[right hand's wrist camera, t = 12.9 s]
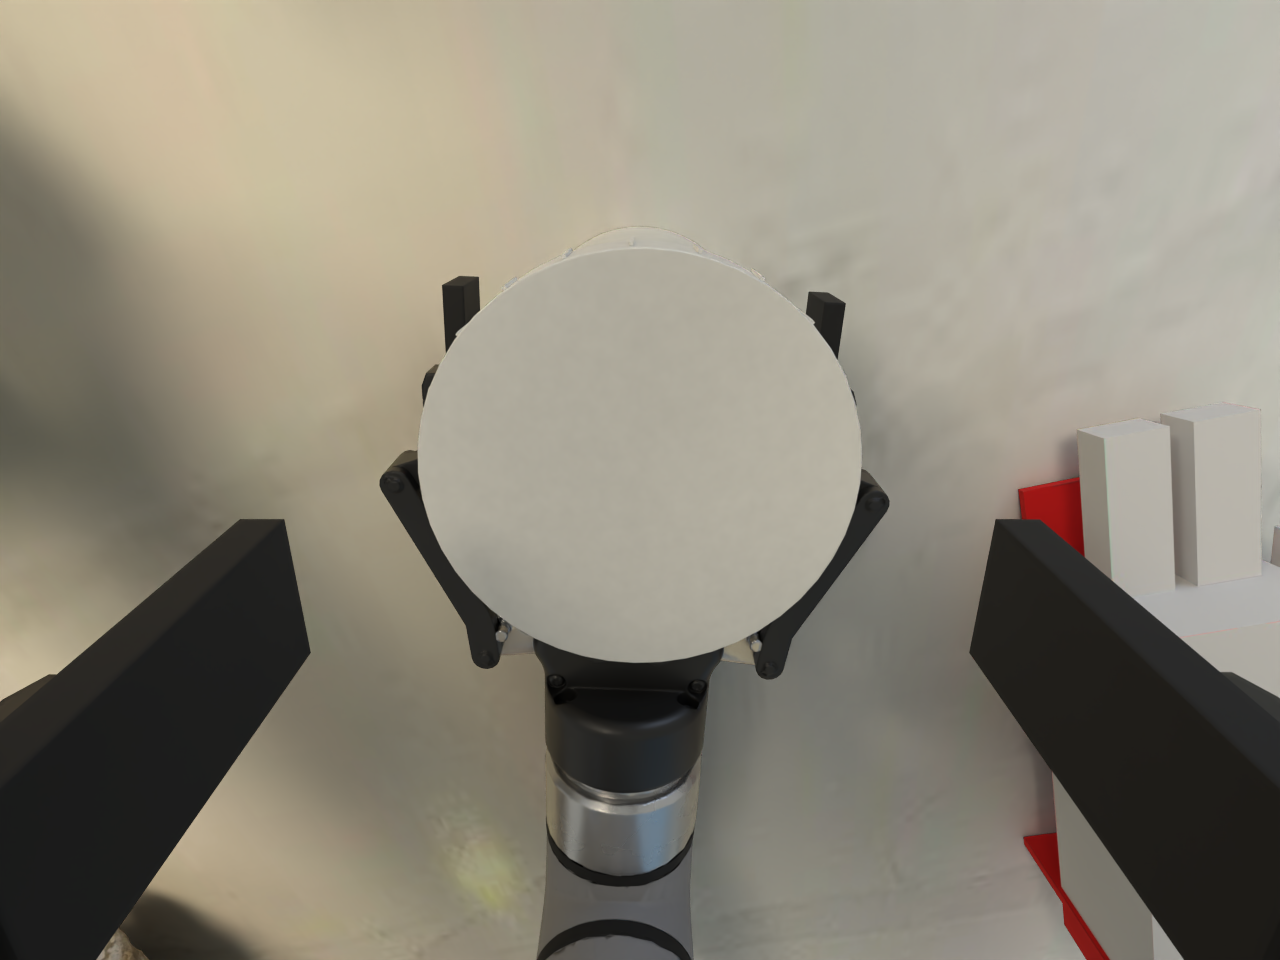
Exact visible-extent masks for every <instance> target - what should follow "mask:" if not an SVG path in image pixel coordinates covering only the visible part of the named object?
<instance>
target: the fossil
mask: <svg viewBox="0 0 1280 960" xmlns="http://www.w3.org/2000/svg"><path fill="white" fill-rule="evenodd" d="M96 960H149V959H148V958H147V957H146V956H145V955H144V954H143V952H142V951H141V950H138V949H136V948H135V947H134V946H133V945H132V944H131V943H130V942H129V938H128V937H127V935H126V934H125V933H124V932H123V931H122V930H120V929H119V928H118V929H117V931H116V932H115V934H114V935H113V936H112V938H111V939H110V941H109V942H108V944H107V945H106V946H105V948H104V949H103V951H102V952H101V954H100V955H99V957H98V958H97V959H96Z"/></svg>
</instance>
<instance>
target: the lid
mask: <svg viewBox="0 0 1280 960" xmlns="http://www.w3.org/2000/svg"><path fill="white" fill-rule="evenodd" d="M765 279H766V278H764V277H763V276H762V275H761V274H759V273H758V272H757V271H755V270H754V269H751V271H748V270H747V269H745V268H743V267H741V266H740V265H738V264H736V263H734V262H732V261H731V260H729V259H726V258H724V257H721V256H718V255H716V254H713V253H711V252H708V251H706V250H703V249H702V248H701V247H700V246H699V245H698V244H694V245H693V247H691V246H686V245H682V244H678V243H673V242H663V241H652V240H635V238H634V237H630V240H629V241H614V242H609V243H603V244H598V245H592V246H587V247H584V248H581V249H578V250H575V251H572V248H569V249H567V250H566V251H565V252H564V253H563V254H562V255H560V256H558V257H556V258H554V259H552V260H550V261H548V262H546V263H544V264H542V265H540V266H538V267H536V268H534V269H532V270H531V271H530V272H528V273H527V274H525V275H524V276H522V277H521V278H519V279H518V280H517V278H516V277H514V278H513V279H511V280H510V281H509V282H507V283H506V284H505V285H504V286H502V287H501V289H502V290H503V291H502V292H501V293H499V294H498V295H497V296H496V297H495V298H493V299H492V300H491V301H490V302H489V303H488V304H487V305H486V306H485V307H484V308H482V309H481V310H480V311H479V312H478V313H477V314H476V315H475V316H474V317H473V318H472V319H471V320H470V322H469V323H467V324H466V325H465V326H464V327H463V328H461V329H460V330H459V331H458V332H457V333H456V336H457V337H456V338H455V340H454V341H453V343H452V345H451V346H450V348H449V350H448V351H447V353H446V354H445V356H444V358H443V359H442V361H441V363H440V364H439V367H438V369H437V371H436V373H435V376H434V378H433V380H432V383H431V385H430V387H429V389H428V393H427V397H426V400H425V404H424V408H423V412H422V415H421V420H420V429H419V437H418V445H417V446H418V475H419V481H420V487H421V494H422V500H423V503H424V506H425V509H426V513H427V516H428V519H429V522H430V525H431V528H432V530H433V532H434V534H435V536H436V538H437V541H438V543H439V545H440V547H441V549H442V551H443V552H444V554H445V556H446V557H447V559H448V560H449V562H450V564H451V565H452V567H453V568H454V570H455V571H456V573H457V574H458V575H459V576H460V578H461V579H462V580H463V581H464V582H465V584H466V585H467V586H468V587H469V588H470V590H471V591H472V592H473V593H474V594H475V595H476V596H477V597H478V598H479V599H480V600H481V601H482V602H484V603H485V604H486V605H487V606H488V607H489V608H490V609H491V610H492V611H494V612H495V613H496V614H498V615H499V616H500V617H502V618H503V619H504V620H506V621H507V622H508V623H510V624H511V625H513V626H514V627H516V628H518V629H519V630H521V631H523V632H525V633H526V634H528V635H530V636H532V637H533V638H535V639H538V640H540V641H542V642H544V643H547V644H549V645H551V646H554V647H556V648H558V649H562V650H565V651H568V652H571V653H575V654H578V655H581V656H585V657H591V658H596V659H601V660H607V661H617V662H630V663H646V662H664V661H671V660H678V659H685V658H690V657H693V656H697V655H701V654H705V653H709V652H712V651H715V650H718V649H720V648H723V647H726V646H728V645H731V644H733V643H736V642H738V641H740V640H742V639H744V638H746V637H748V636H750V635H751V634H753V633H755V632H757V631H759V630H761V629H762V628H764V627H765V626H767V625H768V624H769V623H771V622H772V621H774V620H775V619H777V618H778V617H780V616H781V615H782V614H783V613H785V612H786V611H787V610H788V609H789V608H790V607H792V606H793V605H794V604H795V603H796V602H797V601H799V600H800V599H801V598H802V597H803V595H804V594H805V593H806V592H807V591H808V590H809V589H810V588H811V587H812V586H813V584H814V583H815V582H816V581H817V580H818V579H819V577H820V576H821V574H822V573H823V572H824V570H825V569H826V567H827V566H828V564H829V563H830V562H831V560H832V559H833V557H834V555H835V553H836V551H837V549H838V548H839V546H840V544H841V542H842V540H843V538H844V536H845V534H846V531H847V528H848V526H849V523H850V520H851V518H852V515H853V512H854V509H855V505H856V500H857V496H858V491H859V487H860V479H861V466H862V444H861V429H860V424H859V419H858V414H857V409H856V405H855V400H854V398H853V395H852V392H851V390H850V387H849V384H848V381H847V379H846V378H847V376H846V374H845V373H844V372H843V370H842V368H841V366H840V364H839V362H838V361H837V359H836V357H835V355H834V353H833V351H832V349H831V348H830V347H829V345H828V344H827V342H826V341H825V340H824V338H823V337H822V336H821V334H820V333H819V332H818V330H817V329H816V328H815V326H814V325H813V324H814V323H815V322H814V321H813V320H812V319H811V318H810V317H809V316H807V315H806V314H805V313H804V312H802V311H801V310H800V309H797V308H796V307H795V306H794V305H793V304H792V303H791V302H790V301H789V300H787V299H786V298H785V297H784V296H782V295H781V294H780V293H779V292H777V291H776V290H775V289H774V288H772V287H771V286H770V285H768V284H767V283H766V282H764V281H765Z"/></svg>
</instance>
